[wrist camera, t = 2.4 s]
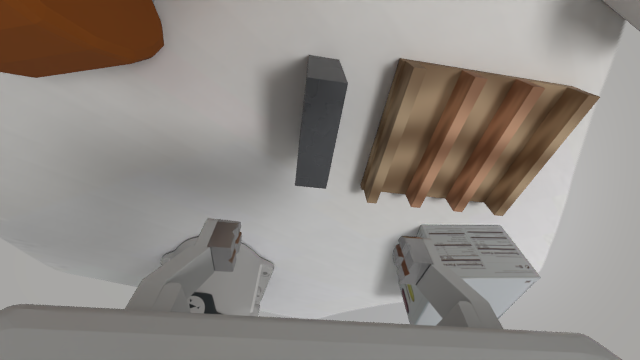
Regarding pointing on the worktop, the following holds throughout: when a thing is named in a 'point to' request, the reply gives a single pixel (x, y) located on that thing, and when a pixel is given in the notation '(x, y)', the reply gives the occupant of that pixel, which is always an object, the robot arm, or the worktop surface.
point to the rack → (468, 134)
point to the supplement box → (474, 268)
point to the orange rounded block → (76, 35)
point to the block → (320, 120)
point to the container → (627, 10)
